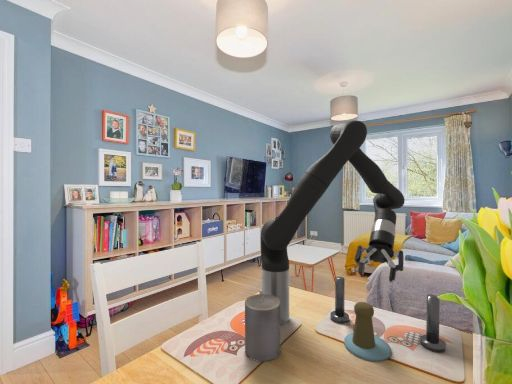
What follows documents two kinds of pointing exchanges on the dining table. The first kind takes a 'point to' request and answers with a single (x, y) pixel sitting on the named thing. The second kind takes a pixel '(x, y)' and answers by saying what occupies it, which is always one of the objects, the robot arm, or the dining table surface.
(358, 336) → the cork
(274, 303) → the pillar candle
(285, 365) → the dining table surface
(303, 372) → the dining table surface
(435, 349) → the gap posts
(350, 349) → the teal mat
